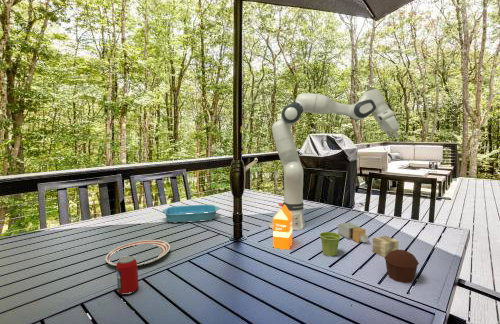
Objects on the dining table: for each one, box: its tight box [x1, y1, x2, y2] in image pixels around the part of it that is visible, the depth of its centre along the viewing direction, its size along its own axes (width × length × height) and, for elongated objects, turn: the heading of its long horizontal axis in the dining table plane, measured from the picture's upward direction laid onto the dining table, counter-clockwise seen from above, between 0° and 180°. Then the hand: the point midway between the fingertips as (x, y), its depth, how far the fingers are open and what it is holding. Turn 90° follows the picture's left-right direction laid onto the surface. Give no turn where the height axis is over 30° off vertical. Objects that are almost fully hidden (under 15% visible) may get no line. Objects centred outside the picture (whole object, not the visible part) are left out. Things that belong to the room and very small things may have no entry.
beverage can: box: [116, 256, 139, 294], centre depth 99 cm, size 7×7×12 cm
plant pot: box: [319, 231, 342, 257], centre depth 128 cm, size 9×9×9 cm
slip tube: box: [337, 224, 369, 243], centre depth 147 cm, size 4×19×6 cm, turn 22°
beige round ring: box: [105, 239, 171, 267], centre depth 128 cm, size 27×27×3 cm
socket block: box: [372, 235, 400, 258], centre depth 127 cm, size 8×7×6 cm
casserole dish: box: [162, 204, 220, 223], centre depth 185 cm, size 37×22×7 cm, turn 101°
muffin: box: [383, 249, 420, 284], centre depth 106 cm, size 12×11×10 cm
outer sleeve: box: [337, 222, 361, 241], centre depth 149 cm, size 7×8×6 cm
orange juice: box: [272, 204, 293, 251], centre depth 137 cm, size 8×9×20 cm
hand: (394, 137), depth 156 cm, fingers open, 8 cm apart
